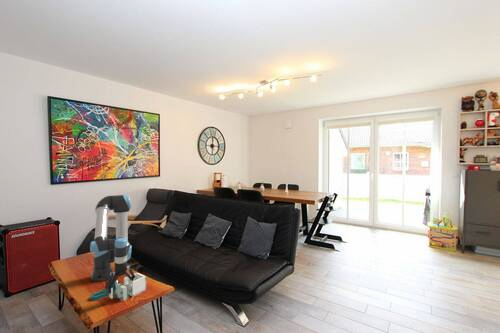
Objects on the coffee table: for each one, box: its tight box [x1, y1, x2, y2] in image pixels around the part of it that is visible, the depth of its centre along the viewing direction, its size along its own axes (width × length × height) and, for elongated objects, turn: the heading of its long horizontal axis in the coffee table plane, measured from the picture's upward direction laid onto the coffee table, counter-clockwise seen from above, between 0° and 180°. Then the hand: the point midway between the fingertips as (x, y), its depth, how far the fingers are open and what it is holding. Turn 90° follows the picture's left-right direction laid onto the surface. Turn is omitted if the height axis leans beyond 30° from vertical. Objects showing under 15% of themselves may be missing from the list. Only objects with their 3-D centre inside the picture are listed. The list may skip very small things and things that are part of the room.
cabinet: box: [123, 272, 147, 297], centre depth 174 cm, size 11×10×10 cm
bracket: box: [90, 280, 122, 301], centre depth 170 cm, size 18×7×8 cm, turn 142°
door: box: [116, 283, 128, 302], centre depth 165 cm, size 9×4×8 cm, turn 58°
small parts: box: [113, 279, 130, 302], centre depth 166 cm, size 11×5×10 cm, turn 57°
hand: (120, 293), depth 165 cm, fingers open, 12 cm apart
